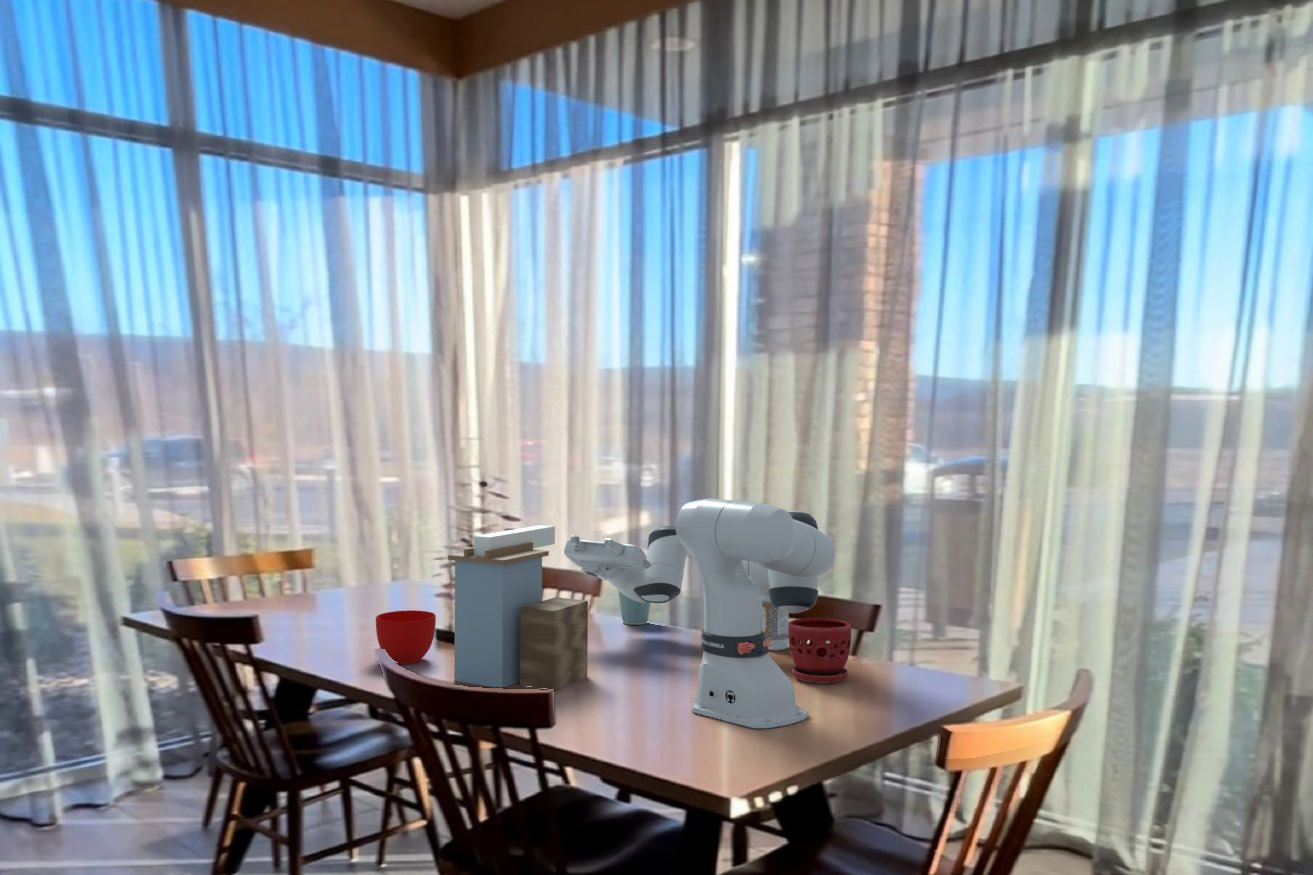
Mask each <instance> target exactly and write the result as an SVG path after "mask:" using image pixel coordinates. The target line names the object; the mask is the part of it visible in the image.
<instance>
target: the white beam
mask: <svg viewBox="0 0 1313 875" xmlns="http://www.w3.org/2000/svg"><path fill="white" fill-rule="evenodd" d="M529 542H533V549H537V548H541V547H547V546H548V547H549V546H551V545H555V544H556V526H555V525H544V524H543V525H541V524H540V525H538V524H537V525H534V526H528V527H527V526H526V527H520V528H514V529H509V530H508V529H507V530H504V531H503V530H502V531H497V532H490V533H484V534H478V535H474V536H473V547H474V556H484V557H485V551H487V550H492V549H498V548H503V547H508V546H513V545H519V544H524V543H529Z"/></svg>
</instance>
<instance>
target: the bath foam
mask: <svg viewBox="0 0 1313 875" xmlns="http://www.w3.org/2000/svg"><path fill="white" fill-rule="evenodd" d="M789 614H790V613H789V612H785V611H782V610H780V609H777V608H776V607H775V606H774V605H773V604H772V603H771V600H770V596H769V595H762V631H763V632H764V634H765V638H766V640H773V641H772V642H770V643H768V644H772V646H768V649H769V651H784V650H786V649H788V648H789V639H788V623H789V622H790V621H789V617H790V615H789ZM768 644H767V645H768Z"/></svg>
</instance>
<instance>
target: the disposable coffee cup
mask: <svg viewBox="0 0 1313 875" xmlns="http://www.w3.org/2000/svg"><path fill="white" fill-rule="evenodd" d="M617 591H618V590H617ZM617 594H618V600H619V607H620V615H621V616H620V617H621V620H622V623H623V624H625V625H631V626H634V625H638V626H641V625H645V624H647V622H648V620H649V617H650V616H649V615H650V610H651V609H650V608H651V603H650V602H636V601H634V600H631V599H629V598H628V597H626V596H625V595H623V594H622V593H621V592H620V591H618V593H617Z"/></svg>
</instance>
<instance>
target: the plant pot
mask: <svg viewBox="0 0 1313 875" xmlns="http://www.w3.org/2000/svg"><path fill="white" fill-rule="evenodd" d="M808 641H809V643H808ZM828 642H829V643H828ZM851 645H852V625H851V623H850V622H847V621H845V620H840V619H835V618H819V617H818V618H814V617H813V618H799V619H794V620H790V621H789V623H788V648H789V653H790V656H791V660H792V661H793V664H794V666H793V667H792V669H791V672H792V675H793V676H794V677H795V678H796V679H798V680H801V681H803V682H806V683H810V684H811V683H813V684H820V685H821V684H826V685H827V684H830V683H831V684H830V685H833V683H834V684H836V683H838V682H841V681H844V680H845V679H846V678H847V676H848V675H849V671H848V669H846V668H845V666H846V664H847V661H848V659H849V656H850V651H851Z"/></svg>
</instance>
